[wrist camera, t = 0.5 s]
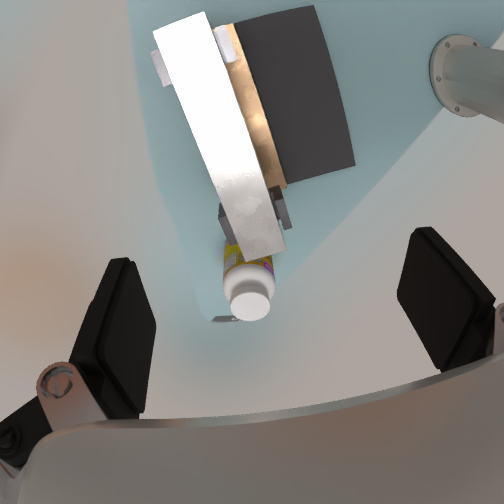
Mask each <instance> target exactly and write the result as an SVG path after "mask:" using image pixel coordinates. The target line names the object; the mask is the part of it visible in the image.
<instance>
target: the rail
mask: <svg viewBox="0 0 504 504" xmlns="http://www.w3.org/2000/svg"><path fill="white" fill-rule="evenodd" d="M153 34H154V36H155V39H156V41H157V44H158V46H159V49H160V51H161V54H162V56H163V59H164V61H165V64H166V67H167V69H168V72H169V74H170V77H171V79H172V82H173V84H174V87H175V89H176V92H177V94H178V97H179V99H180V102H181V104H182V107H183V109H184V112H185V114H186V117H187V119H188V122H189V124H190V127H191V129H192V132H193V134H194V137H195V139H196V142H197V144H198V146H199V149H200V151H201V154H202V156H203V159H204V161H205V164H206V166H207V169H208V171H209V174H210V176H211V179H212V181H213V183H214V186H215V188H216V191H217V193H218V196H219V198H220V201H221V203H222V205H223V208H224V210H225V213H226V215H227V218H228V220H229V223H230V225H231V227H232V230H233V232H234V235H235V237H236V240H237V242H238V244H239V247H240V249H241V252H242V254H243V256H244V259H245V261H246V262H248V261H251V260H255V259H258V258H262V257H265V256H269V255H272V254H276V253H279V252H283V251H286V246H285V242H284V237H283V233H282V229H281V226H280V223H279V220H278V217H277V214H276V211H275V207H274V204H273V201H272V198H271V195H270V192H269V189H268V186H267V183H266V180H265V177H264V174H263V171H262V168H261V165H260V162H259V159H258V156H257V153H256V150H255V147H254V144H253V141H252V138H251V135H250V132H249V129H248V126H247V123H246V121H245V118H244V115H243V112H242V109H241V106H240V103H239V101H238V98H237V95H236V92H235V89H234V87H233V84H232V81H231V78H230V75H229V73H228V70H227V67H226V65H225V62H224V59H223V56H222V54H221V51H220V48H219V46H218V43H217V40H216V38H215V35H214V32H213V30H212V27H211V24H210V22H209V19H208V17H207V16H206V14H205V13H204V12H201V13H199V14H196V15H193V16H190V17H188V18H185V19H182V20H180V21H177V22H175V23H172V24H170V25H167V26H165V27H163V28H160V29H158V30H156V31H153Z"/></svg>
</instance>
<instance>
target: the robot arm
mask: <svg viewBox="0 0 504 504" xmlns="http://www.w3.org/2000/svg"><path fill="white" fill-rule="evenodd" d="M430 77H431V83H432V86H433V89H434V91H435V94H436V96H437V98H438V99H439V101H440V102H441V103H442V104H443V106H444V107H445V108H447V109H448V110H449V111H450V112H452V113H454V114H457V115H459V116H462V117H473V116H476V115H478V114H480V113H481V114H483V115H486V116H488V117H490V118H493V119H495V120H497V121H499V122H502V123H504V51H503V50H497V49H491V48H484V47H482V46H481V45H480V44H479V43H478V42H477V41H475V40H474V39H472V38H471V37H468V36H465V35H450V36H447V37H445V38H443V39H442V40H441V41H440V42H439V43H438V44H437V45H436V47H435V49H434V51H433V53H432V56H431V61H430ZM397 299H398V301H399V303H400V305H401V306H402V308H403V309H404V311H405V313H406V315H407V316H408V318H409V320H410V321H411V323H412V325H413V327H414V329H415V330H416V332H417V334H418V336H419V338H420V339H421V341H422V343H423V345H424V347H425V349H426V350H427V352H428V354H429V356H430V358H431V360H432V362H433V364H434V366H435V367H436V368H437V369H440V371H441V374H438V375H434V376H431V377H428V378H425V379H421V380H418V381H415V382H411V383H408V384H404V385H401V386H397V387H393V388H390V389H386V390H382V391H378V392H374V393H370V394H365V395H361V396H357V397H352V398H347V399H343V400H338V401H333V402H328V403H322V404H316V405H311V406H305V407H298V408H292V409H285V410H278V411H270V412H262V413H253V414H243V415H232V416H218V417H201V418H179V419H139V414H140V413H143V412H144V410H145V403H146V394H147V387H148V380H149V373H150V365H151V358H152V352H153V346H154V339H155V334H156V321H155V318H154V315H153V313H152V310H151V307H150V305H149V302H148V299H147V296H146V293H145V290H144V288H143V284H142V282H141V278H140V275H139V272H138V270H137V266H136V264H135V262H134V261H130V260H129V258H127V257H125V258H116V259H111V260H110V262H109V264H108V266H107V268H106V271H105V273H104V275H103V278H102V280H101V282H100V284H99V287H98V289H97V292H96V294H95V296H94V299H93V301H91V303H90V305H89V307H88V310H87V313H86V315H85V318H84V320H83V323H82V325H81V328H80V331H79V333H78V336H77V339H76V341H75V344H74V347H73V350H72V353H71V356H70V359H69V362H57V363H54V364H52V365H49V366H48V367H47V368H46V369H44V371H43V372H42V373H41V374H40V376H39V378H38V380H37V385H36V390H37V396H36V397H35V398H33V399H32V400H31V401H29V402H27V403H26V404H25V405H23V406H22V407H21V408H19V409H18V410H16V411H15V412H14V413H12V414H11V415H10V416H8V417H7V418H5V419H4V420H3V421H1V422H0V504H504V303H502V304H499V305H498V306H497V308H496V309H495V307H494V306H493V304H494V302H495V300H496V298H495V297H494V296H493V295H492V293H491V292H490V291H489V289H488V288H487V287H486V286H485V285H484V284H483V282H482V281H481V280H480V279H479V278H478V276H477V275H476V274H475V273H474V272H473V271H472V269H471V268H470V267H469V266H468V265H467V264H466V263H465V262H464V260H462V258H461V257H460V256H459V255H458V254H457V253H456V252H455V251H454V249H453V248H452V247H451V246H450V245H449V244H448V243H447V242H446V241H445V240H444V239H443V238H442V237H441V236H440V235H439V234H438V233H437V232H436V231H435V230H434V229H433V228H432V227H420V228H416V229H415V231H414V232H413V233H412V234H411V236H410V240H409V245H408V249H407V253H406V258H405V262H404V266H403V270H402V274H401V278H400V282H399V286H398V289H397Z"/></svg>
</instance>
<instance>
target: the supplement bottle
mask: <svg viewBox="0 0 504 504" xmlns="http://www.w3.org/2000/svg"><path fill="white" fill-rule="evenodd" d="M275 288H276V284H275V277H274V270H273V263H272V257H271V255H269V256H265V257H262V258H258V259H255V260H251V261H248V262H246V261H245V259H244V256H243V254H242V252H241V249H240V247H239V244H235V245H232V246H230V245H229V243H228V240H227V242H226V245H225V252H224V271H223V292H224V295H225V297H226V298H227V300H228V301H229V302H230V309H231V312H232V313H233V315H234V316H235V317H237V318H239V319H241V320H245V321H254V320H258V319H261V318H262V317H264V316H265V315H266V314H267V313H268V312H269V309H270V299H271V298H272V297H273V295H274V293H275Z"/></svg>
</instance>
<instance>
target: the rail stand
mask: <svg viewBox="0 0 504 504" xmlns="http://www.w3.org/2000/svg"><path fill="white" fill-rule="evenodd" d="M213 32H214V35H215V38H216V40H217V43H218V46H219V48H220V51H221V54H222V56H223V59H224V62H225V65H226V67H227V70H228V73H229V75H230V78H231V81H232V84H233V87H234V89H235V92H236V95H237V98H238V101H239V103H240V106H241V109H242V112H243V115H244V118H245V121H246V123H247V126H248V129H249V132H250V135H251V138H252V141H253V144H254V147H255V150H256V153H257V156H258V159H259V162H260V165H261V168H262V171H263V174H264V177H265V180H266V183H267V186H268V189H269V192H270V195H271V198H272V201H273V204H274V207H275V211H276V214H277V217H278V220H280V219H281V222H282V225H283V228H284V230H287V229H290V228H292V225H291V222H290V218H289V215H288V211H287V208H286V205H285V201H284V198H283V195H282V192H281V189H283V188H287V185H286V182H285V178H284V175H283V172H282V168H281V165H280V162H279V159H278V155H277V152H276V149H275V146H274V142H273V139H272V136H271V133H270V130H269V127H268V124H267V120H266V117H265V114H264V111H263V108H262V105H261V102H260V99H259V96H258V93H257V90H256V87H255V84H254V81H253V79H252V76H251V73H250V70H249V67H248V64H247V61H246V59H245V56H244V53H243V50H242V47H241V45H240V42H239V39H238V36H237V34H236V31H235V28H234V26H233V23H232V24H229V25H221V26H218V27H215V29H213ZM150 55H151V57H152V60H153V62H154V65H155V67H156V70H157V72H158V75H159V77H160V80H161V82H162V85H163V87H165V86H167V85H170V84H172V83H173V82H172V79H171V77H170V74H169V72H168V69H167V67H166V64H165V61H164V59H163V56H162V54H161V51H160V49H158V50H156V51H153V52H151V53H150ZM218 219H219V222H220V224H221V226H222V229H223V231H224V233H225V236H226V238H227V240H228V243H229V245H230V246H232V245H235V244H238V242H237V240H236V237H235V235H234V232H233V230H232V227H231V225H230V223H229V220H228V218H227V215H226V213H225V210H224V208H223V205H222V203H220V205H219V215H218Z"/></svg>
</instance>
